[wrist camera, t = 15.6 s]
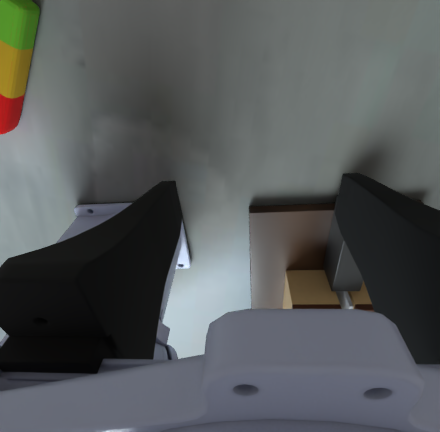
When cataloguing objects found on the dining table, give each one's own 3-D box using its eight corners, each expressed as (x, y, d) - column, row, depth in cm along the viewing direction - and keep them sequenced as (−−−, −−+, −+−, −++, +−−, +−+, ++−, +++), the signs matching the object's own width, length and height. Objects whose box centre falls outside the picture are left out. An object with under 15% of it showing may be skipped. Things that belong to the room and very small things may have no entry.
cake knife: (336, 194, 21) (356, 230, 18) (368, 193, 21) (395, 229, 17) (310, 331, 32) (319, 370, 29) (330, 331, 32) (342, 371, 29)
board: (251, 325, 34) (252, 333, 33) (248, 206, 24) (249, 212, 23) (368, 326, 33) (372, 333, 32) (420, 200, 22) (427, 206, 22)
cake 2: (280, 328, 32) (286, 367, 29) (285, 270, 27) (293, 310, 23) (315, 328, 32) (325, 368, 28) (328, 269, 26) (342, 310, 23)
